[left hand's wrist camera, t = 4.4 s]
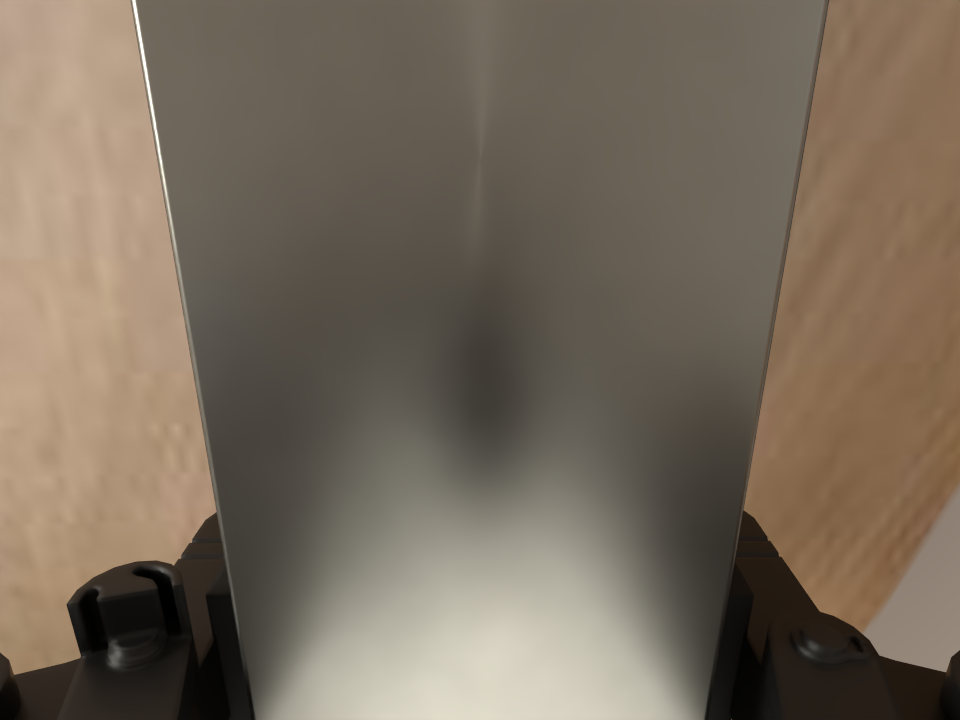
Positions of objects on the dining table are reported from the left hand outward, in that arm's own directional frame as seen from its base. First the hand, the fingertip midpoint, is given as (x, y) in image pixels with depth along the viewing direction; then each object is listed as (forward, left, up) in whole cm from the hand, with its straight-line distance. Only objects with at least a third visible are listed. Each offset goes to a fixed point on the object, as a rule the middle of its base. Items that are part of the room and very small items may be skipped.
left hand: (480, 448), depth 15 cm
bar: (+6, +3, -1) cm, 7 cm away
